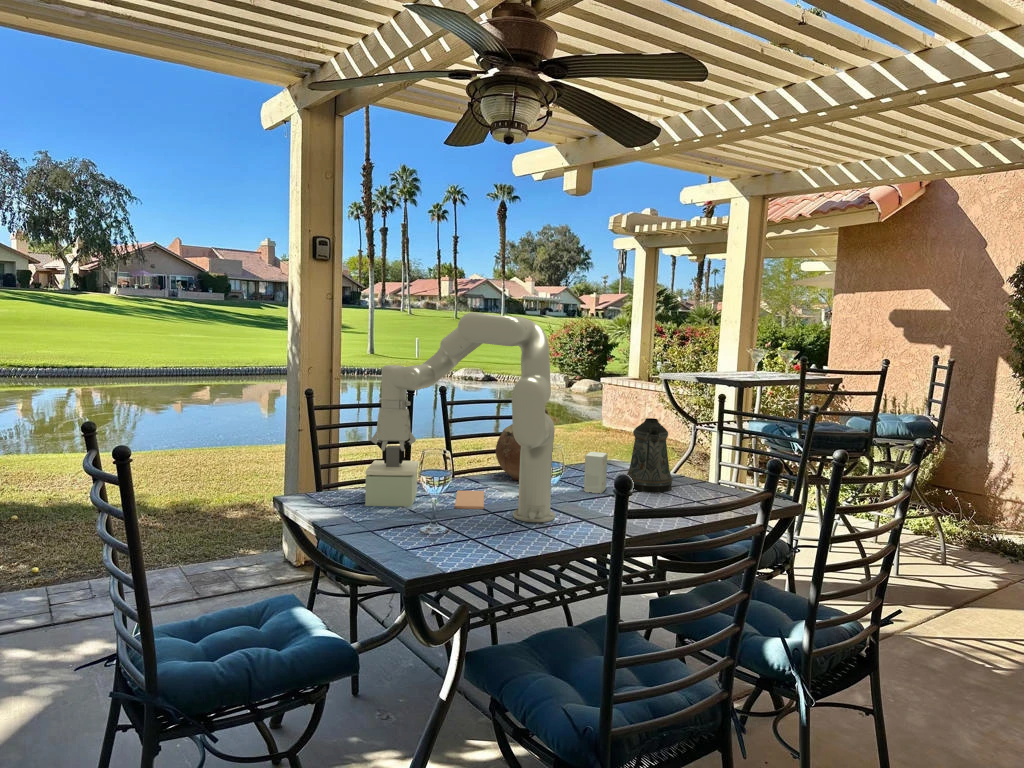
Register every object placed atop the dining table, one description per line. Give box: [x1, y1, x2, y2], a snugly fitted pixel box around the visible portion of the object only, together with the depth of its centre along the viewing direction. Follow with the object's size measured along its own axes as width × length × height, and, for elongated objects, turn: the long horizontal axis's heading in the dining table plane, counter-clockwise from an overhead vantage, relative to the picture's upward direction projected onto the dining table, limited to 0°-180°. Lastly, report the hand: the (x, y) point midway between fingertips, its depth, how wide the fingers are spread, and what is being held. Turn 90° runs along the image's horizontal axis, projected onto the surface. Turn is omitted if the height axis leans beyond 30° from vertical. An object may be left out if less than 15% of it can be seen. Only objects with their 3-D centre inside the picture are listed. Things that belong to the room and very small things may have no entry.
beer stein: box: [626, 417, 673, 494], centre depth 243 cm, size 16×19×25 cm
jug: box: [495, 406, 549, 482], centre depth 253 cm, size 22×22×30 cm
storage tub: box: [364, 469, 418, 507], centre depth 214 cm, size 16×14×10 cm
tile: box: [453, 490, 485, 510], centre depth 220 cm, size 20×18×1 cm
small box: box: [583, 451, 608, 494], centre depth 238 cm, size 8×6×13 cm
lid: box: [364, 445, 420, 476], centre depth 214 cm, size 17×15×8 cm
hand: (393, 462), depth 214 cm, fingers closed on lid, 4 cm apart
